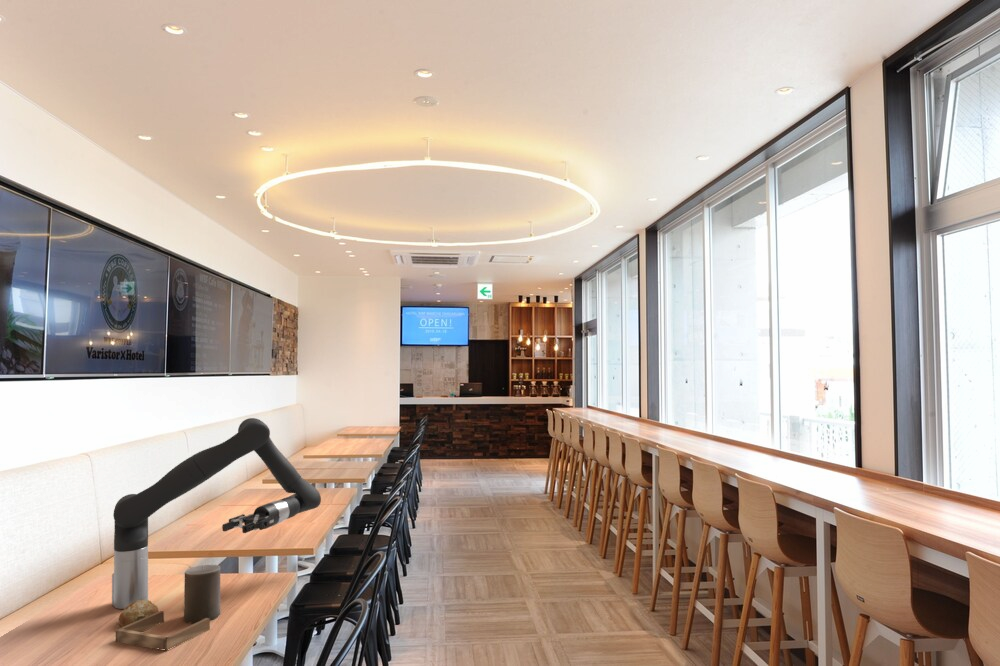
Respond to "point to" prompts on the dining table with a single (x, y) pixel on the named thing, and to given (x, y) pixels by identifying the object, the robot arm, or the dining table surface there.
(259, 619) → the dining table surface
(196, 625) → the brown wooden u-shaped frame
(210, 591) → the pillar candle
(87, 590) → the dining table surface
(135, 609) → the bread roll
